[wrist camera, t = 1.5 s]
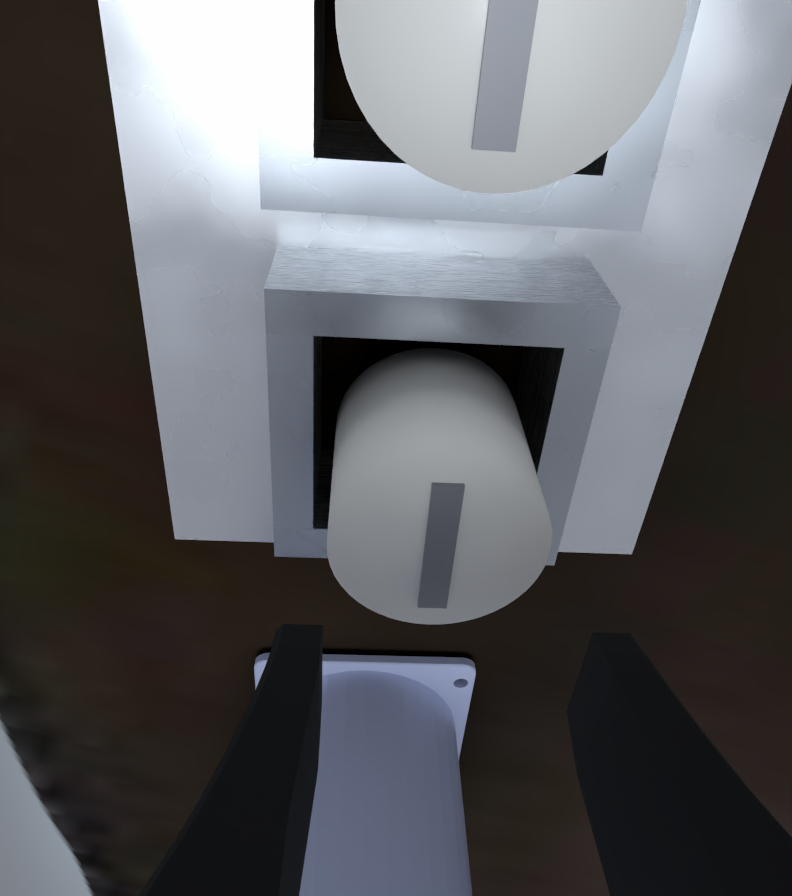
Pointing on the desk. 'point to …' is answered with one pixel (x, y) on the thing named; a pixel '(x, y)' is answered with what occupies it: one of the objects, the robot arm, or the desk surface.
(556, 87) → the knob
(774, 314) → the desk surface
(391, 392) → the knob
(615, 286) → the mount
